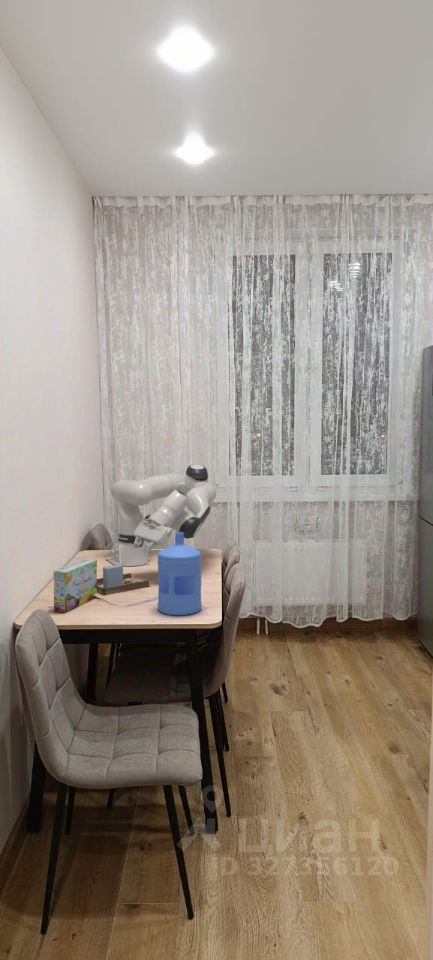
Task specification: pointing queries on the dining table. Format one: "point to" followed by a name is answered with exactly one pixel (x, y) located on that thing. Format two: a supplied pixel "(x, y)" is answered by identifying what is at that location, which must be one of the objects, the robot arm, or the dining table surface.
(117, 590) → the frame
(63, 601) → the snack box
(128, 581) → the offcut upper
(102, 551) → the dining table surface
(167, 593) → the water jug
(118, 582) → the board
